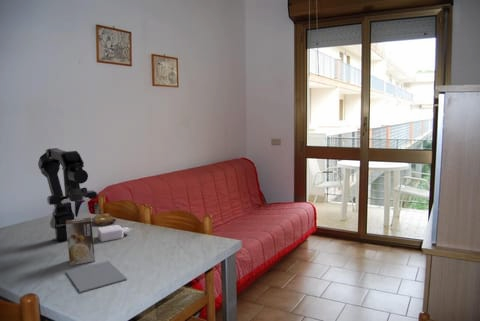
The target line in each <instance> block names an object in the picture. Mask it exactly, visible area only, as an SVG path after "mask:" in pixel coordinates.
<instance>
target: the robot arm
mask: <svg viewBox="0 0 480 321" xmlns="http://www.w3.org/2000/svg"><path fill="white" fill-rule="evenodd" d="M84 163H85V162H84V160H83V159H82V156H81V154H80V153H79V152H78V151H77V150H71V151H70V150H69V151H66V150H63V149H60V148H57V147H55V148H48V149H46V150H45V153H43V154H42V155H41V156H40V157H39V160H38V162H37V166H38V169H39V170H40V172H41V175H43V176H44V177H45V178H46V179H47V183H48V187H49V191H50V195H48V196H47V197H46V198H47V199H46V202H47V204H48V205H51V206H53V207H54V208H53V210H52V215H51V220H50V222H49V224H50V228H52V229H54V231H55V232H54V233H55V238H53V239H52V241H56V242H59V243H63V242H65V241H68V240H67V230H66V220H74V219H75V217H76V218H77V217H78V215H79V211H80V208H81V205H82V204H83V203H85V202H86V200H85V198H88V199H89V200H93V199H98V193H97V192H96V191H95V190H93V189H91V190H88V188H87V187H81V185H82V184H84V183H86V182H87V181H88V178H89V174H88V172H87V171H86V170H85V169H84V168H85V167H84V166H85V165H84ZM60 165H61V167H62V168H61V167H60ZM60 169H61V170H62V172H63V173H62V175H63V185H64V192H63V189H62V186H61V182H60V178H59V171H60ZM72 202H74V212H73V209H72V208H73V207H72Z"/></svg>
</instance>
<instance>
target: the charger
mask: <svg viewBox="0 0 480 321" xmlns="http://www.w3.org/2000/svg"><path fill="white" fill-rule="evenodd" d="M131 231H134V228H132V227H127V226H126V227H125V226H124V227H121V225H118V224H115V225H106V226H100V227H97V237H98V239H99V240H100V242H101V243H102V242H108V241H113V240H119V239H123V237H124V235H125V234H129V233H131Z"/></svg>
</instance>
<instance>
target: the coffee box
mask: <svg viewBox="0 0 480 321" xmlns="http://www.w3.org/2000/svg"><path fill="white" fill-rule="evenodd" d="M92 222H93V221H92V218H91V217H84V218H76V219H75V218H74V220H66V230H67V240H66V241H67V248H68V250H67V251H68V260H69V266H75V265H80V264H88V263H93V262H96V256H95V247H94V246H95V244H94V243H95V242H94V234H93V224H92Z"/></svg>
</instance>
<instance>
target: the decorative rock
mask: <svg viewBox="0 0 480 321" xmlns="http://www.w3.org/2000/svg"><path fill="white" fill-rule="evenodd" d="M91 221H92V222H93V223H94V224H96V225H97V227H98V226H100V227H107V226H110V225H111V224H113V223H114V222H117V219H116V217H114V216H112V215H110V214H109V213H101V214H97V215H95V216H94V217H92V218H91Z"/></svg>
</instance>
